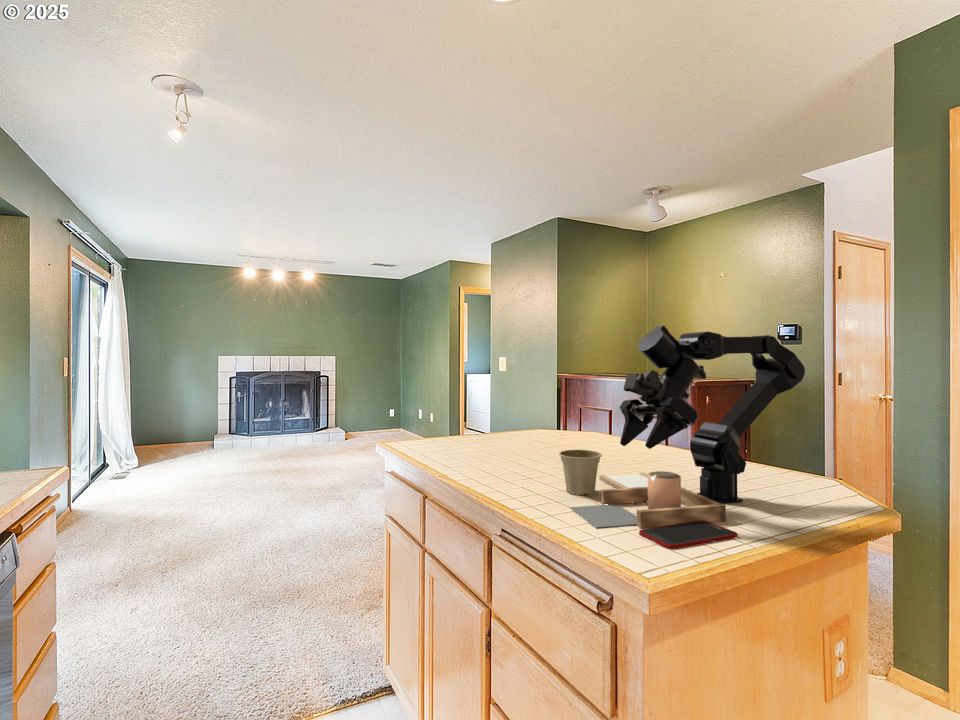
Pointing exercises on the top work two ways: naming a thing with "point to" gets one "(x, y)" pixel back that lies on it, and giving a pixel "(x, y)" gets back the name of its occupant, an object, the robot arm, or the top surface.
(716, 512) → the wooden u-shaped frame
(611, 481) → the wood framed whiteboard
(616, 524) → the mat
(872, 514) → the top surface
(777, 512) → the top surface
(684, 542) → the cell phone
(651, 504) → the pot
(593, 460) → the flower pot
